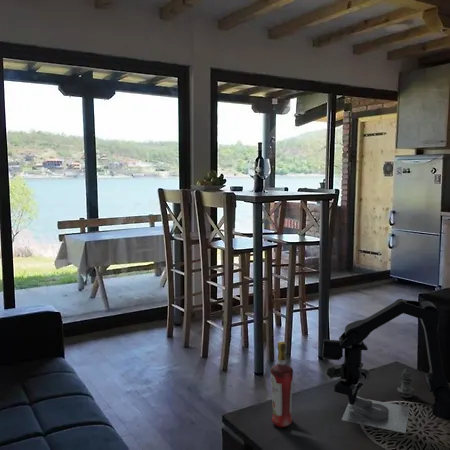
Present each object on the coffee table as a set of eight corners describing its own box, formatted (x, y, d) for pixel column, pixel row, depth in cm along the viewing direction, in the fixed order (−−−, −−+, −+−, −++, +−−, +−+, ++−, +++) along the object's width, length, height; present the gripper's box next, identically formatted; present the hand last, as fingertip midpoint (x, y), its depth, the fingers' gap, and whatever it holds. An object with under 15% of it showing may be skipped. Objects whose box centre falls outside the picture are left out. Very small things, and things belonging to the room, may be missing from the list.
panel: (409, 410, 167) (409, 406, 167) (405, 436, 151) (405, 432, 150) (351, 399, 175) (351, 395, 175) (341, 423, 159) (341, 419, 159)
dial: (393, 414, 162) (393, 404, 161) (380, 423, 156) (381, 412, 156) (356, 400, 172) (356, 390, 171) (343, 408, 166) (344, 397, 166)
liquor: (267, 420, 161) (266, 340, 158) (286, 416, 164) (286, 337, 161) (277, 431, 155) (276, 348, 151) (297, 426, 157) (297, 344, 154)
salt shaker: (414, 404, 171) (415, 371, 170) (397, 401, 173) (397, 369, 172) (413, 396, 177) (414, 365, 175) (396, 394, 178) (397, 363, 177)
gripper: (340, 348, 177) (339, 389, 178) (320, 364, 161) (319, 408, 163) (370, 354, 171) (368, 396, 172) (352, 371, 155) (351, 417, 157)
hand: (351, 404), depth 166 cm, fingers closed
